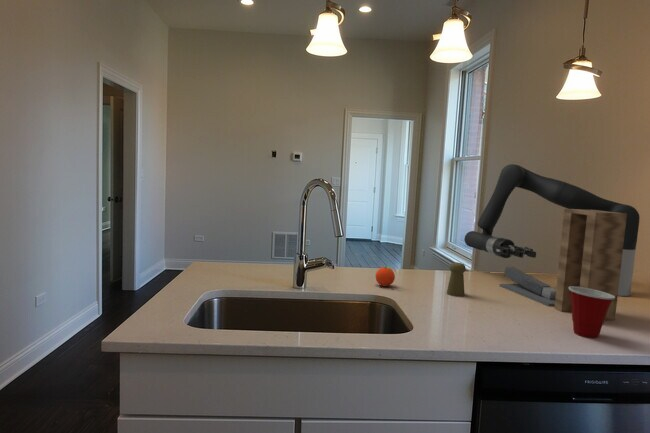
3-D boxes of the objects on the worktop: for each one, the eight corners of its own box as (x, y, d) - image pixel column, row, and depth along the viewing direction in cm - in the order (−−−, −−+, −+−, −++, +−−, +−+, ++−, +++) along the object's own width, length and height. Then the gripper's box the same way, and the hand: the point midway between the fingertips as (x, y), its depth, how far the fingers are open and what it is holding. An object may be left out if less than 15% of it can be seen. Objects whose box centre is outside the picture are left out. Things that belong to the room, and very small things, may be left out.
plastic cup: (620, 342, 114) (625, 296, 113) (580, 341, 113) (585, 295, 112) (592, 327, 125) (596, 285, 124) (555, 326, 124) (559, 284, 123)
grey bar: (511, 275, 173) (513, 267, 173) (557, 300, 151) (559, 290, 150) (504, 275, 172) (505, 267, 172) (548, 300, 150) (550, 290, 149)
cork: (467, 294, 154) (470, 263, 153) (459, 297, 150) (462, 265, 149) (451, 290, 159) (454, 260, 158) (443, 293, 154) (445, 262, 153)
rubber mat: (524, 285, 172) (524, 283, 172) (576, 305, 147) (577, 303, 147) (499, 285, 170) (499, 283, 170) (548, 306, 145) (548, 303, 144)
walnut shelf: (583, 307, 145) (593, 209, 142) (614, 319, 133) (626, 213, 130) (554, 308, 142) (564, 208, 139) (584, 321, 131) (595, 212, 128)
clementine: (391, 283, 166) (392, 264, 165) (400, 287, 159) (401, 268, 159) (371, 283, 163) (372, 264, 163) (379, 288, 157) (381, 268, 156)
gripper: (485, 237, 177) (512, 244, 160) (516, 237, 180) (546, 244, 164) (483, 256, 177) (510, 265, 161) (514, 256, 181) (544, 265, 164)
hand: (528, 254), depth 162 cm, fingers open, 4 cm apart
